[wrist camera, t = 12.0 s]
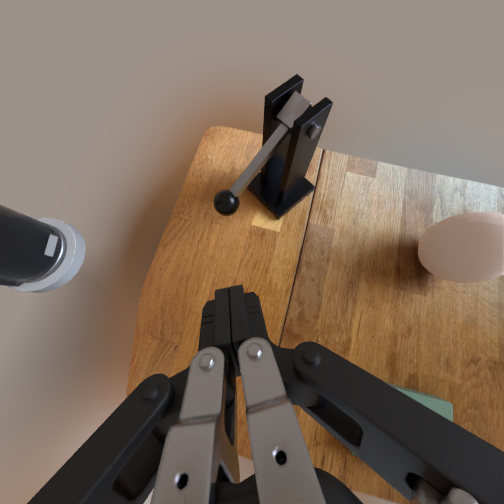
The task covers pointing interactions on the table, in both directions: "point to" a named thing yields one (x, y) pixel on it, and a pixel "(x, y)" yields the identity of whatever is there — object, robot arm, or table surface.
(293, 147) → the bracket
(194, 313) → the table surface
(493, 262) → the egg
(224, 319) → the robot arm
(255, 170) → the lever
